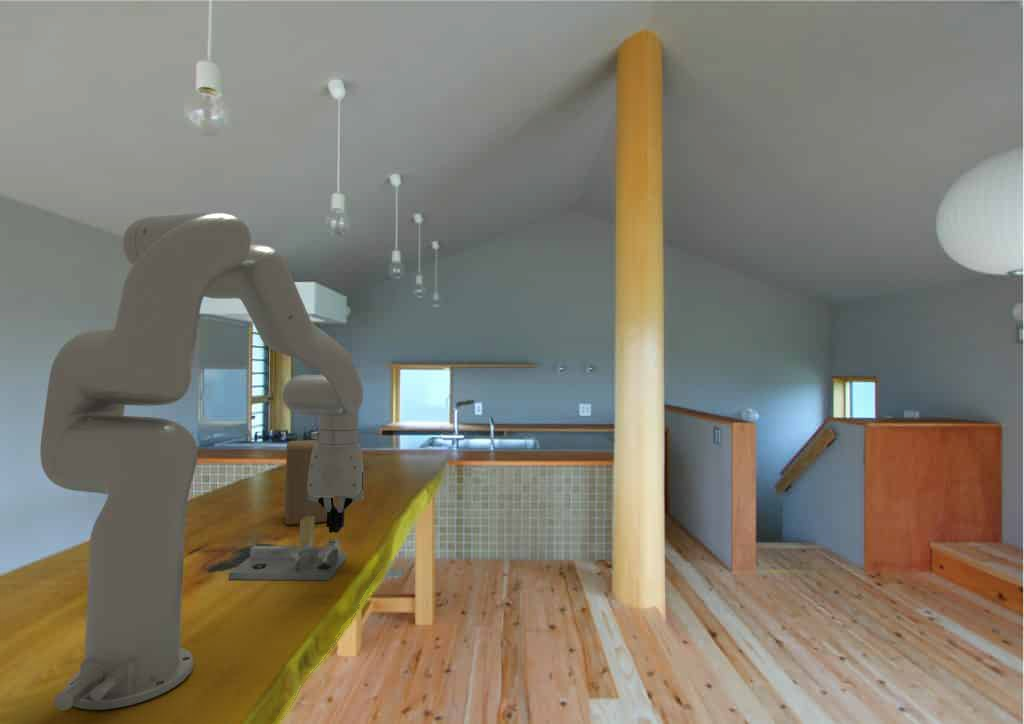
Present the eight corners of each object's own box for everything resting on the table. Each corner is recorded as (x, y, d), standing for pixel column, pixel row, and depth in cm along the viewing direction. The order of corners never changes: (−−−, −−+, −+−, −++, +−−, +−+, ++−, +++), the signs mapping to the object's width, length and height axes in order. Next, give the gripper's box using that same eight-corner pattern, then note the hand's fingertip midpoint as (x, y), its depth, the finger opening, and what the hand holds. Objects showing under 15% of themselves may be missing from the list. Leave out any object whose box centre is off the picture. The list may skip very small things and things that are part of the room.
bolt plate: (329, 580, 99) (330, 553, 99) (228, 579, 98) (229, 552, 98) (346, 558, 111) (347, 534, 111) (256, 557, 110) (257, 533, 110)
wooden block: (283, 516, 143) (286, 440, 143) (324, 513, 147) (326, 439, 148) (285, 526, 134) (288, 444, 134) (328, 522, 138) (330, 443, 138)
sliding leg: (299, 568, 101) (300, 527, 101) (289, 568, 101) (290, 527, 101) (313, 553, 109) (314, 516, 109) (304, 553, 109) (305, 516, 109)
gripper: (293, 439, 104) (289, 536, 104) (372, 441, 105) (368, 536, 104) (306, 435, 112) (303, 525, 111) (379, 436, 112) (376, 526, 112)
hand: (335, 530), depth 108 cm, fingers closed
